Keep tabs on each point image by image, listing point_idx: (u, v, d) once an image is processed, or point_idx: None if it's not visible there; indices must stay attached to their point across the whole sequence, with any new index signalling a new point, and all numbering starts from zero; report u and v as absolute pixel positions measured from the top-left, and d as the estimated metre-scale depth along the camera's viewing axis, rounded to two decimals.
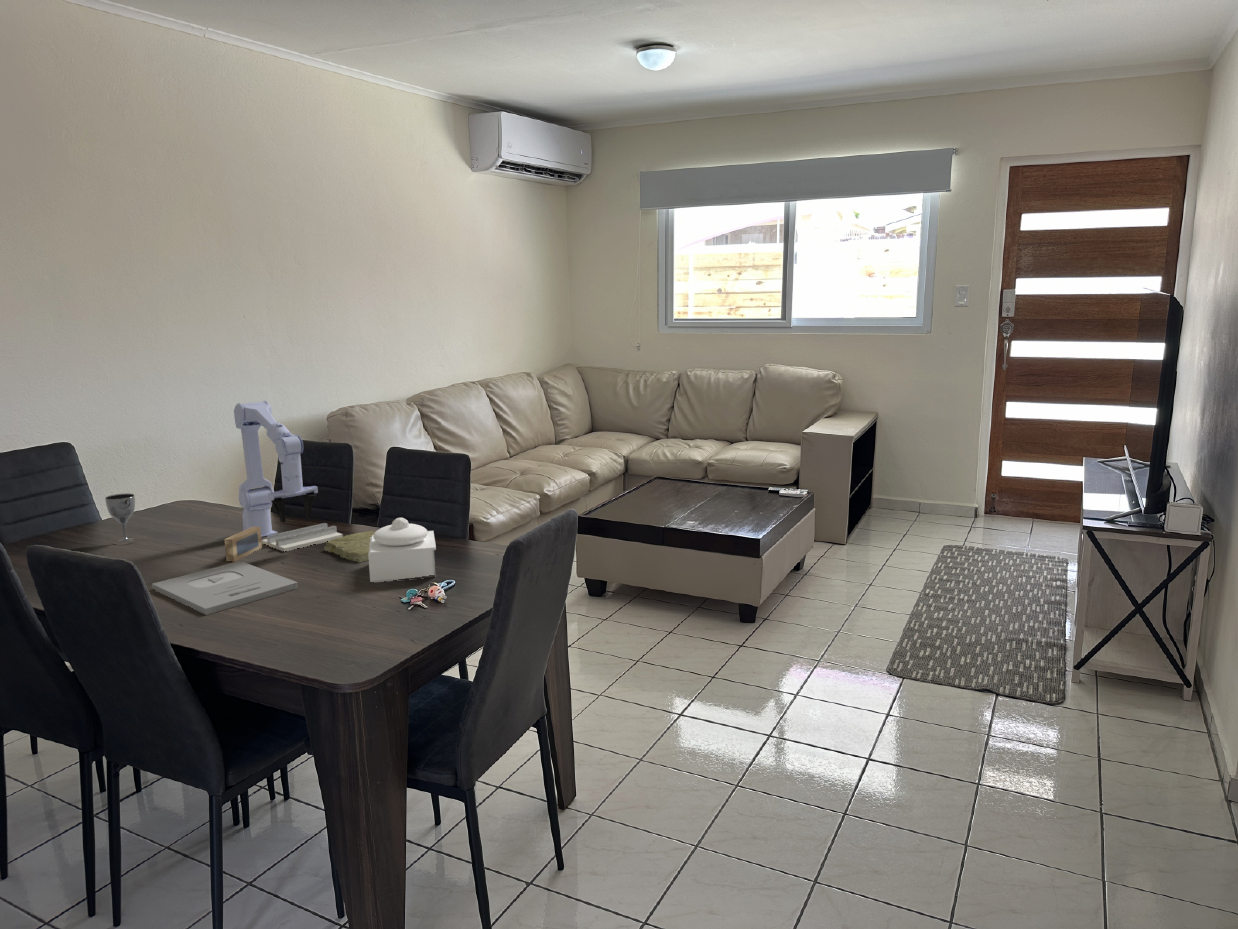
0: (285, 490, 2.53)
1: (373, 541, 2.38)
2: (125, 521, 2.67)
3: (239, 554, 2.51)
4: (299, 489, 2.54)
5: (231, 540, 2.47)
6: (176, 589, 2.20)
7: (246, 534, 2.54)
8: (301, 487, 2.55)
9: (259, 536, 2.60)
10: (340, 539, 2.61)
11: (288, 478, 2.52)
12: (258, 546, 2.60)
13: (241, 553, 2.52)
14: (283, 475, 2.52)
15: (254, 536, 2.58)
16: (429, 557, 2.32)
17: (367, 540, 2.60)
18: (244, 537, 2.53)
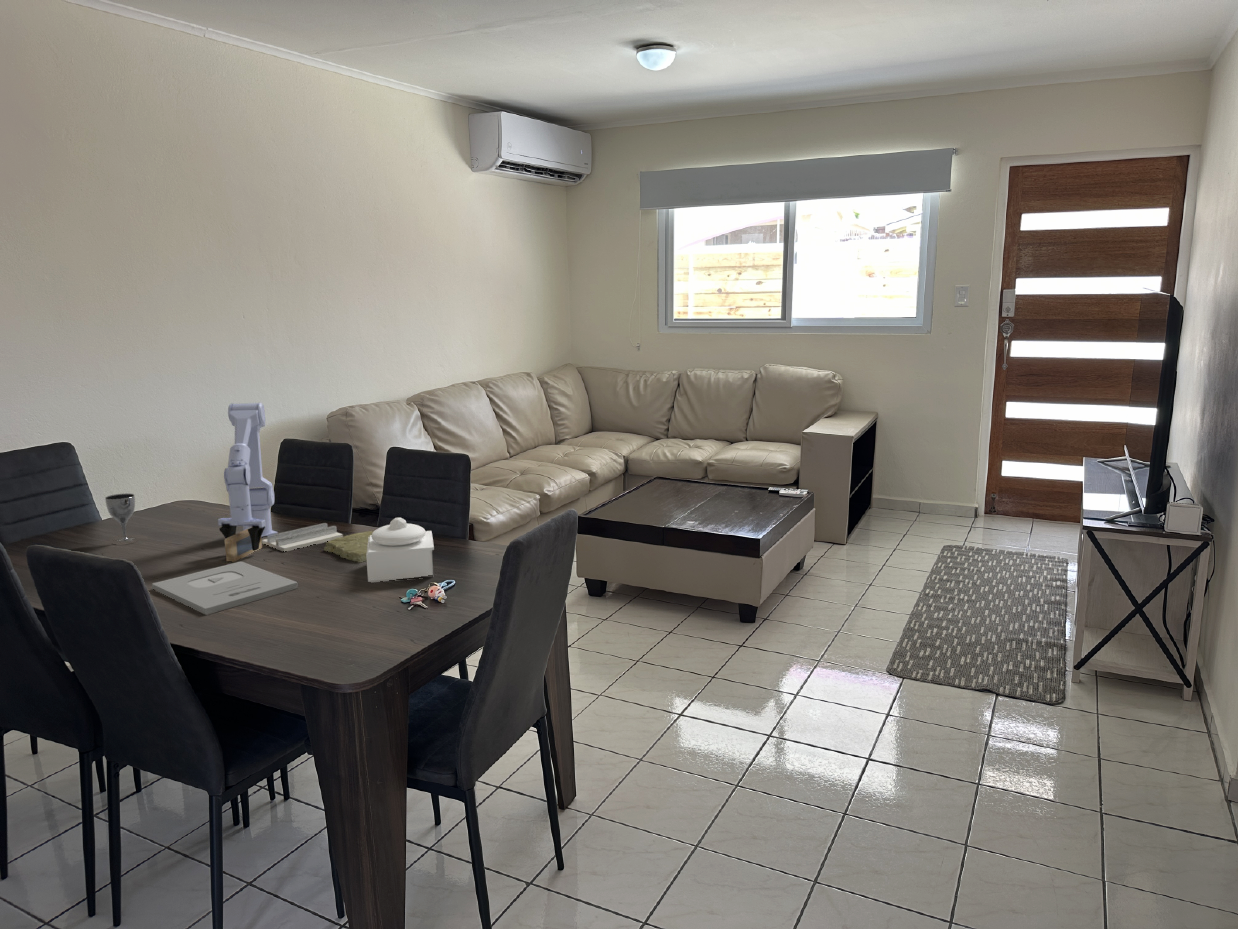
0: None
1: (371, 541, 2.38)
2: (125, 521, 2.67)
3: (239, 554, 2.51)
4: (238, 520, 2.50)
5: (231, 540, 2.47)
6: (176, 589, 2.20)
7: (246, 534, 2.54)
8: (242, 518, 2.51)
9: None
10: (340, 539, 2.61)
11: (230, 507, 2.51)
12: None
13: (241, 553, 2.52)
14: None
15: None
16: (427, 557, 2.32)
17: (367, 540, 2.60)
18: (244, 537, 2.53)
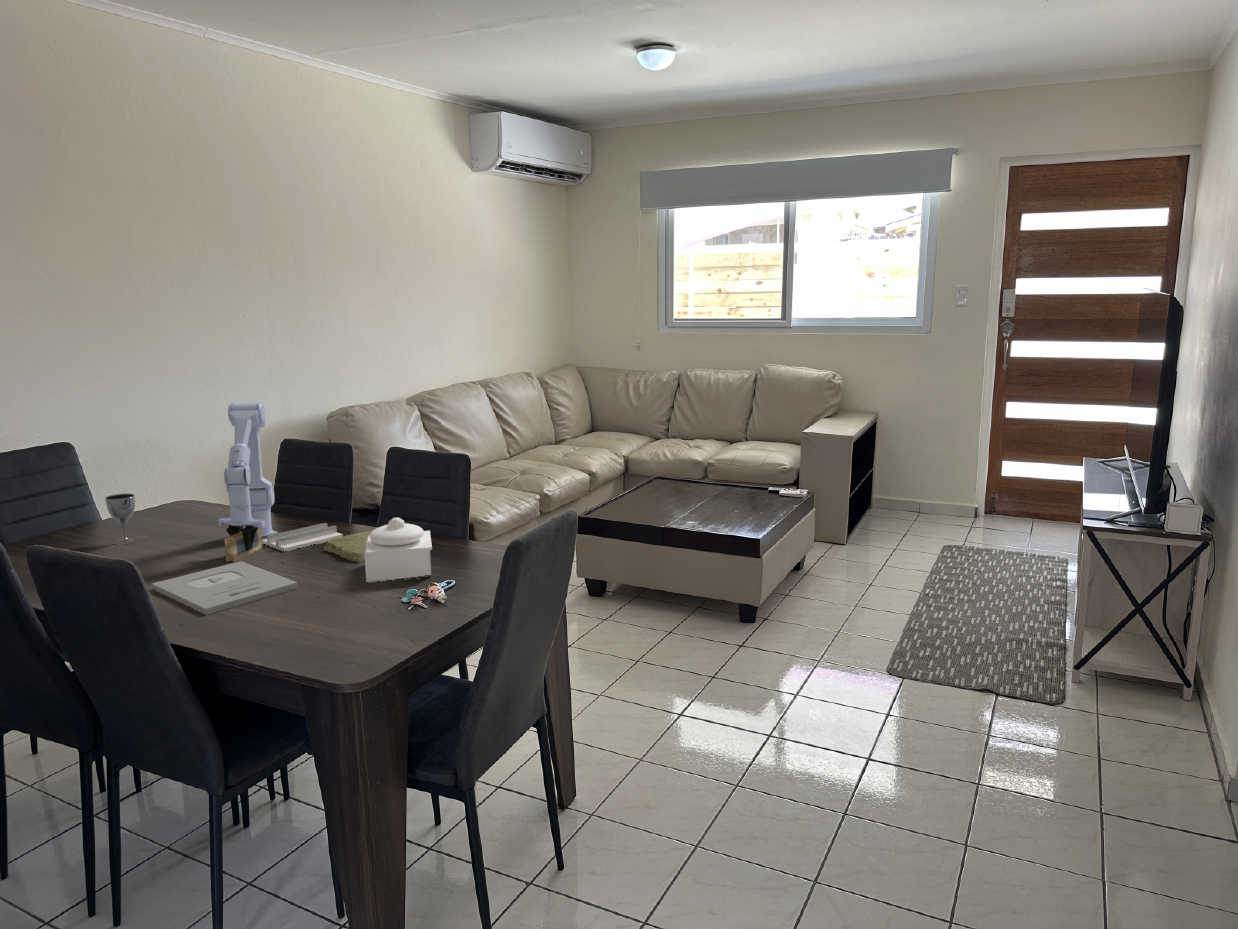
0: None
1: (369, 541, 2.38)
2: (125, 521, 2.67)
3: (239, 554, 2.51)
4: (238, 521, 2.50)
5: (231, 540, 2.47)
6: (176, 589, 2.20)
7: None
8: (242, 519, 2.51)
9: (259, 536, 2.60)
10: (340, 539, 2.61)
11: (230, 507, 2.51)
12: (258, 545, 2.60)
13: (241, 553, 2.52)
14: None
15: None
16: (425, 557, 2.32)
17: None
18: None
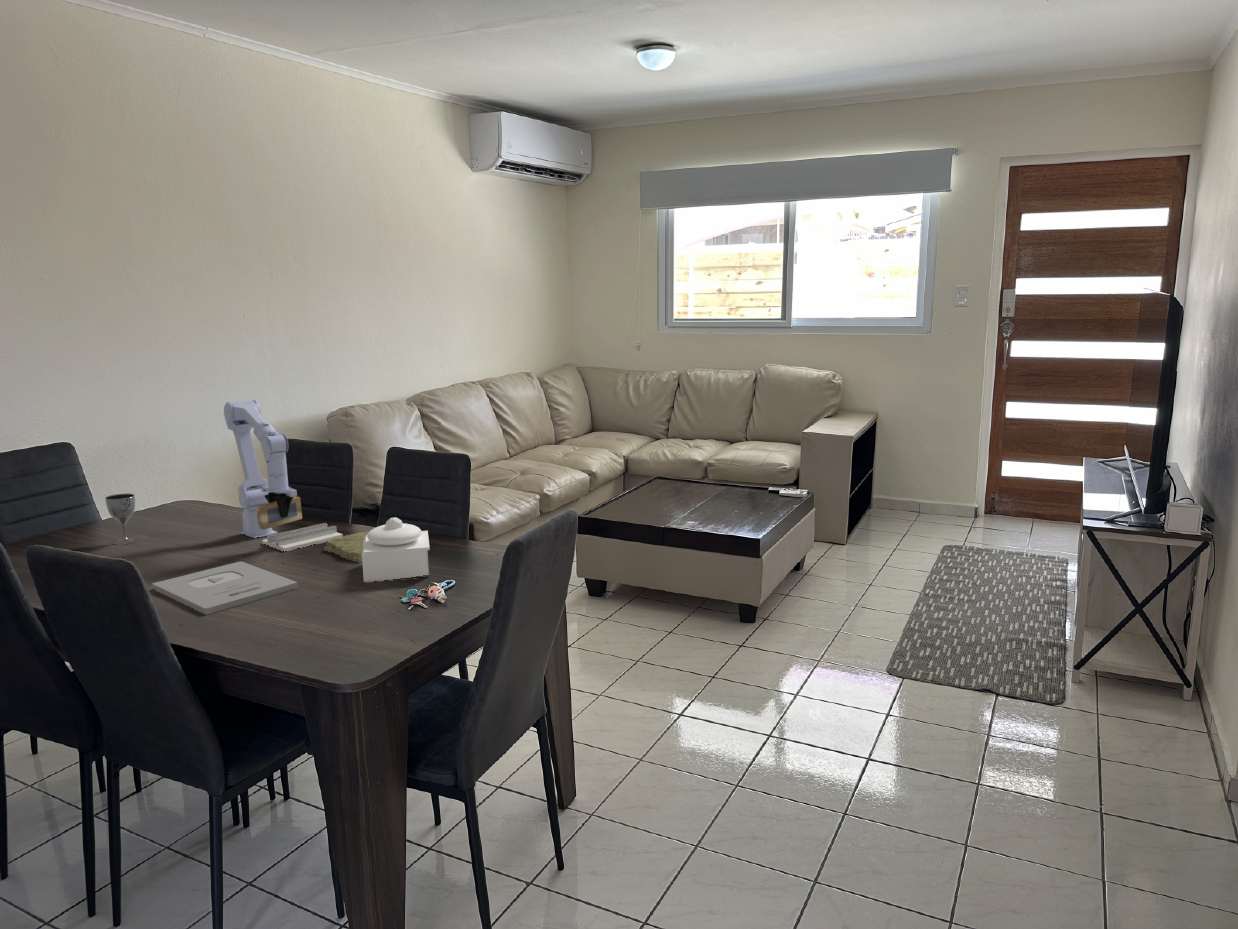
0: None
1: (367, 541, 2.38)
2: (125, 521, 2.67)
3: (271, 522, 2.58)
4: (272, 488, 2.58)
5: (261, 508, 2.55)
6: (176, 589, 2.20)
7: None
8: (275, 487, 2.58)
9: (298, 506, 2.67)
10: (340, 539, 2.61)
11: None
12: (297, 515, 2.66)
13: (273, 521, 2.59)
14: (268, 473, 2.58)
15: (291, 506, 2.64)
16: (423, 557, 2.33)
17: None
18: None
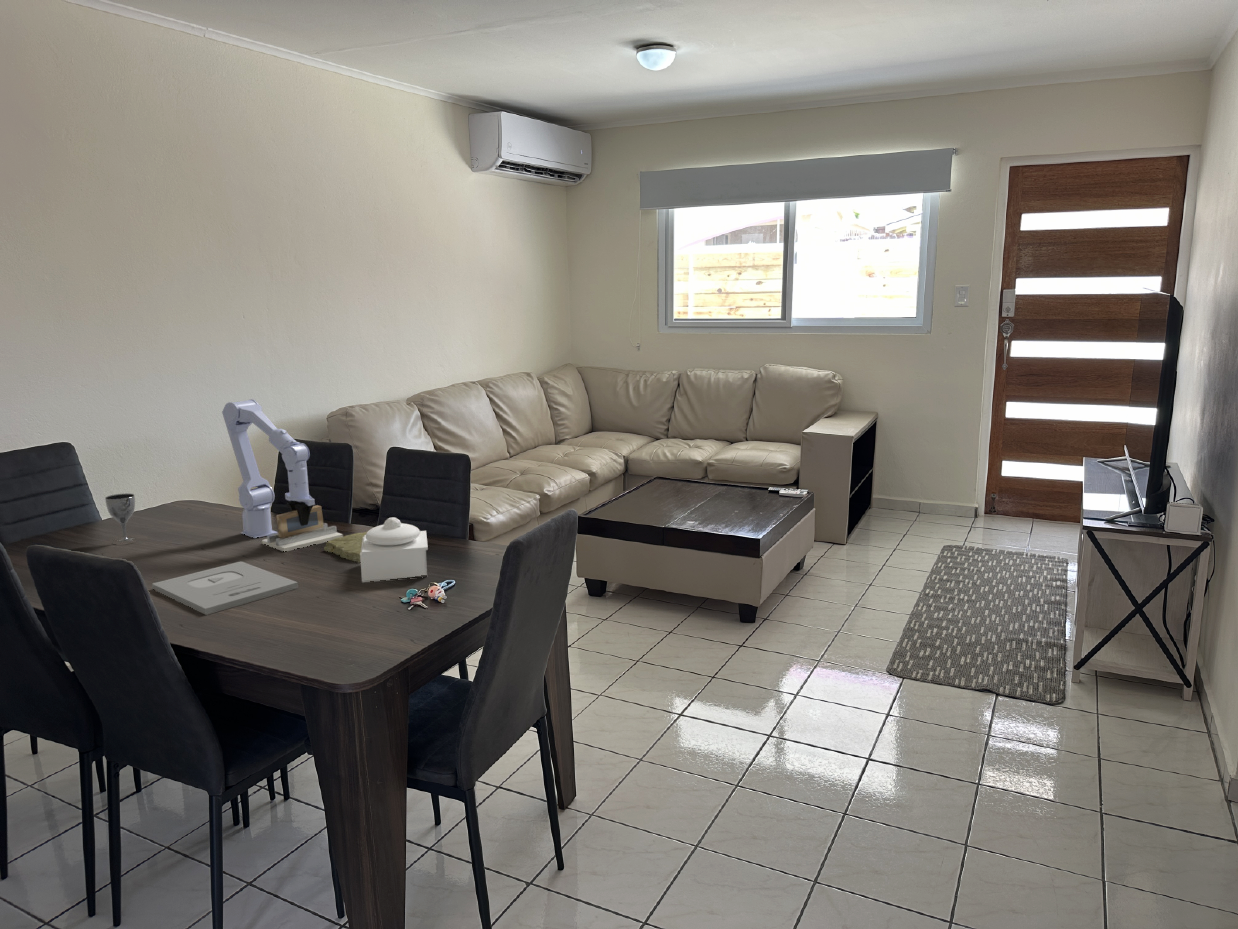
0: None
1: (365, 541, 2.38)
2: (125, 521, 2.67)
3: (290, 531, 2.64)
4: (292, 496, 2.64)
5: (280, 517, 2.62)
6: (176, 589, 2.20)
7: None
8: (295, 495, 2.64)
9: (319, 515, 2.72)
10: (340, 539, 2.61)
11: None
12: (318, 524, 2.71)
13: (293, 530, 2.65)
14: (292, 482, 2.63)
15: (312, 515, 2.69)
16: (421, 557, 2.33)
17: None
18: (298, 515, 2.66)
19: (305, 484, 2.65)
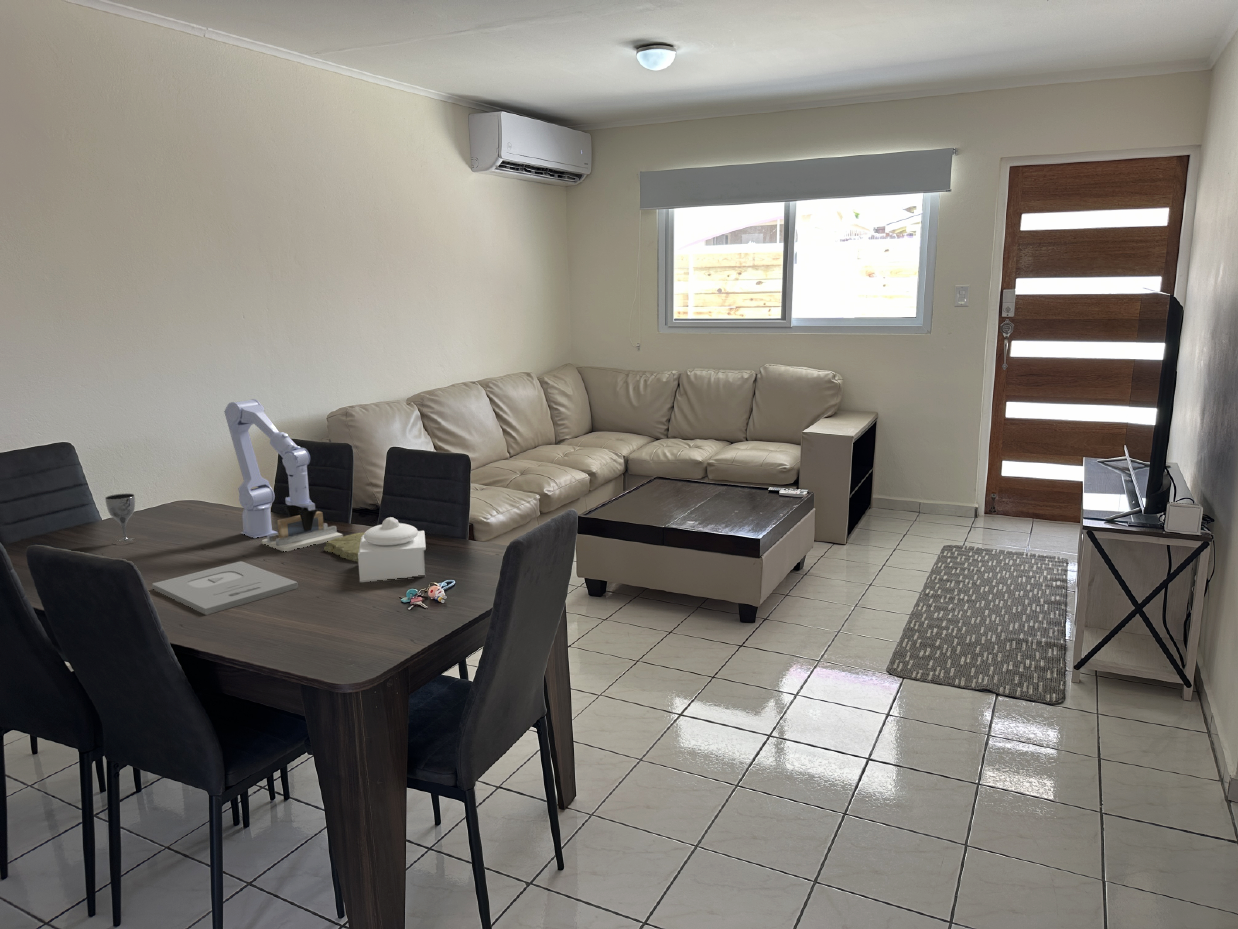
0: None
1: (363, 541, 2.38)
2: (125, 521, 2.67)
3: None
4: (293, 501, 2.64)
5: (281, 522, 2.62)
6: (176, 589, 2.20)
7: None
8: (296, 500, 2.64)
9: (320, 521, 2.72)
10: (340, 539, 2.61)
11: None
12: None
13: None
14: (293, 487, 2.63)
15: (313, 520, 2.70)
16: (419, 557, 2.33)
17: None
18: (299, 521, 2.66)
19: (305, 489, 2.65)
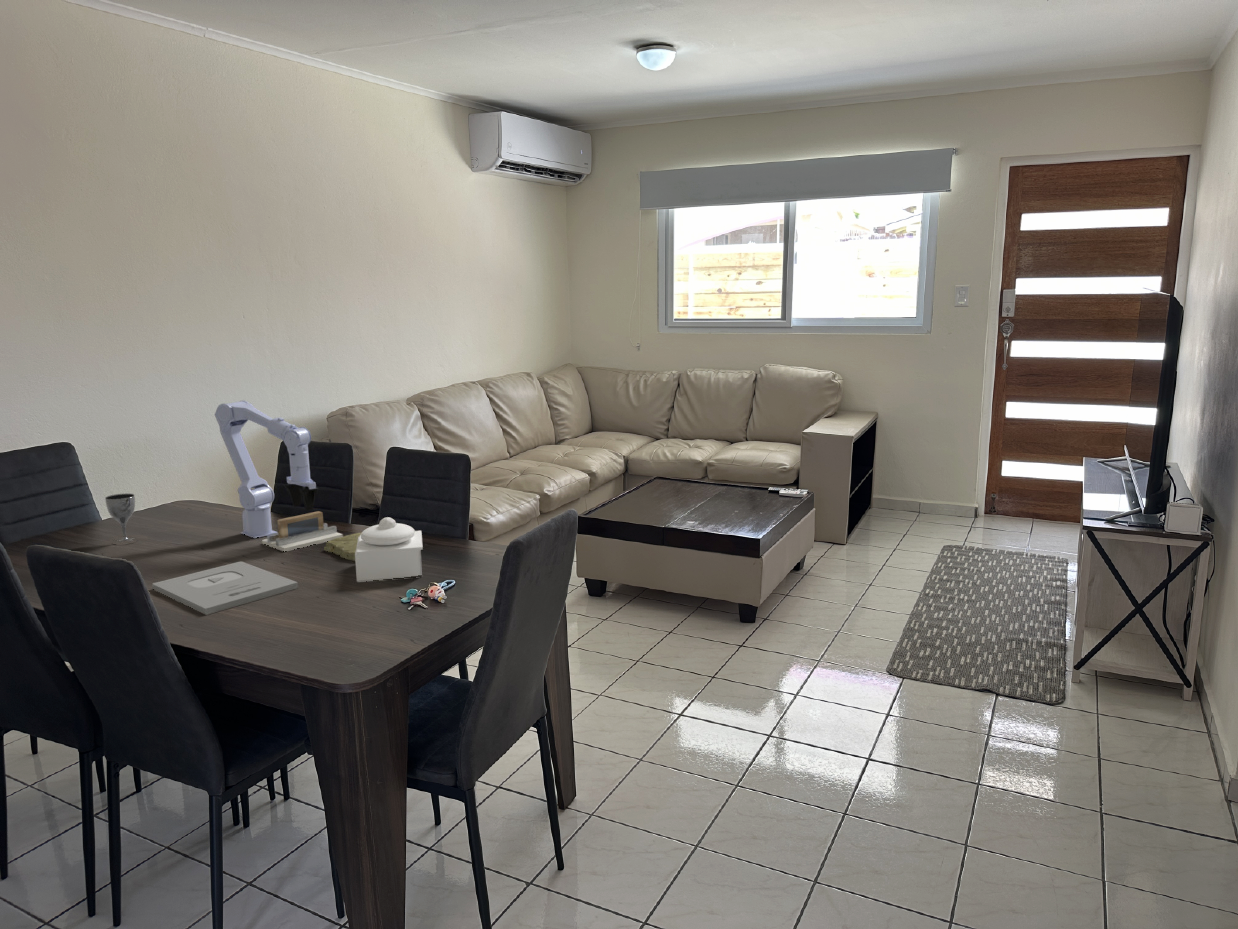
0: None
1: (360, 541, 2.38)
2: (125, 521, 2.67)
3: None
4: (294, 480, 2.65)
5: (281, 522, 2.62)
6: (176, 589, 2.20)
7: (302, 517, 2.67)
8: (297, 478, 2.65)
9: (320, 521, 2.72)
10: (340, 539, 2.61)
11: None
12: None
13: None
14: (294, 465, 2.64)
15: (313, 520, 2.70)
16: (416, 557, 2.33)
17: None
18: (299, 521, 2.66)
19: (306, 468, 2.66)
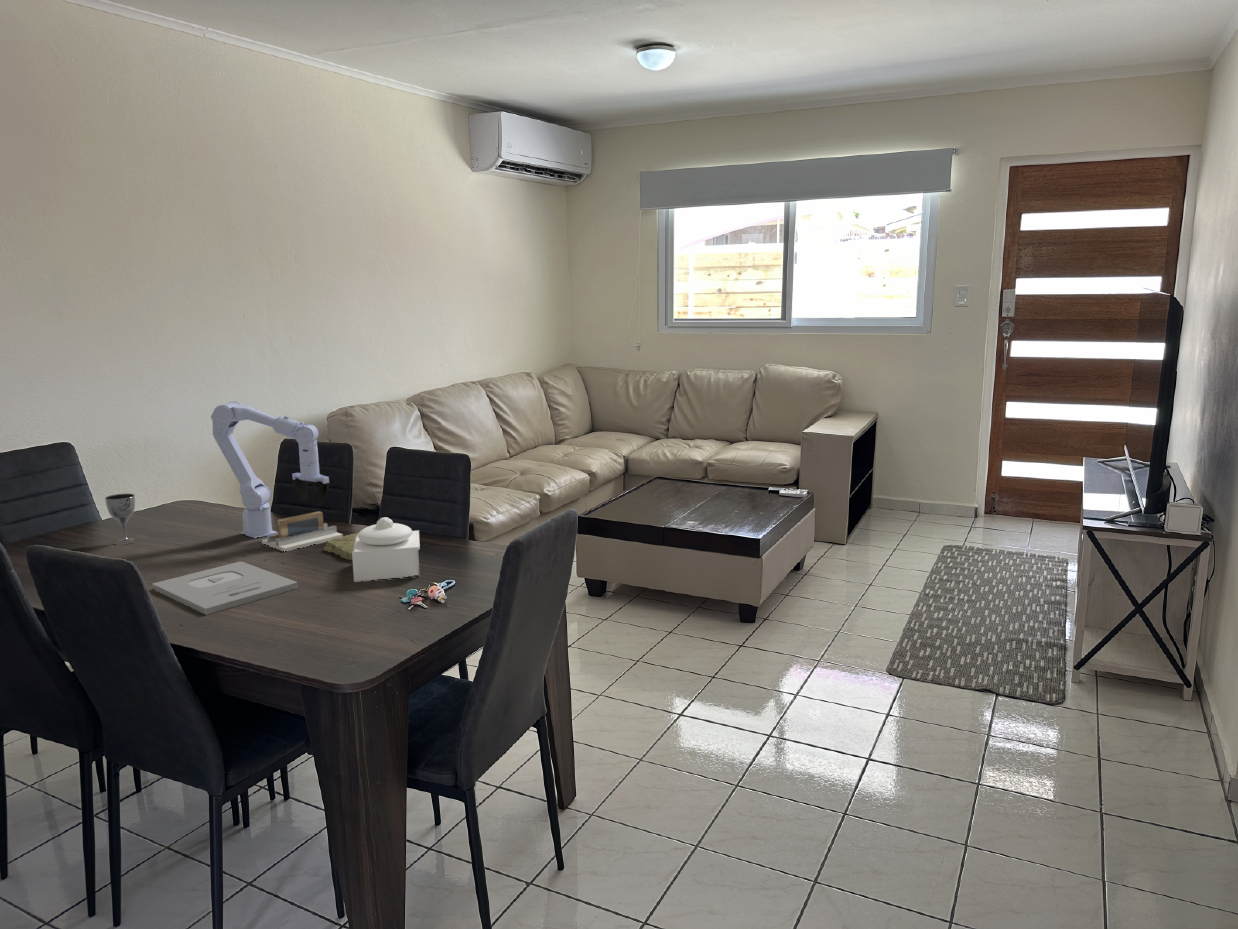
0: None
1: (358, 541, 2.39)
2: (125, 521, 2.67)
3: None
4: (305, 475, 2.71)
5: (281, 522, 2.62)
6: (176, 589, 2.20)
7: (302, 517, 2.67)
8: (308, 474, 2.71)
9: (320, 521, 2.72)
10: (340, 539, 2.61)
11: (300, 463, 2.72)
12: None
13: None
14: (307, 461, 2.70)
15: (313, 520, 2.70)
16: (413, 557, 2.33)
17: None
18: (299, 521, 2.66)
19: (317, 463, 2.73)
